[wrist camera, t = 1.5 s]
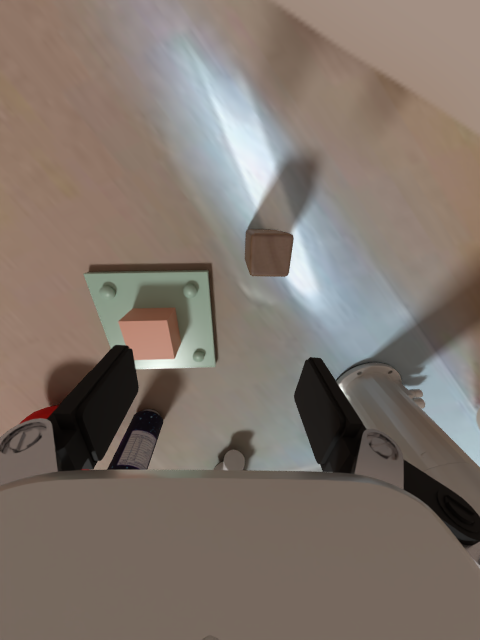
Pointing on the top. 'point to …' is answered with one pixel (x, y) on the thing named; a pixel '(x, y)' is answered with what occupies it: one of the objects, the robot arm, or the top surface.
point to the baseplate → (159, 292)
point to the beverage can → (138, 442)
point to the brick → (151, 333)
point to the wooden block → (268, 252)
